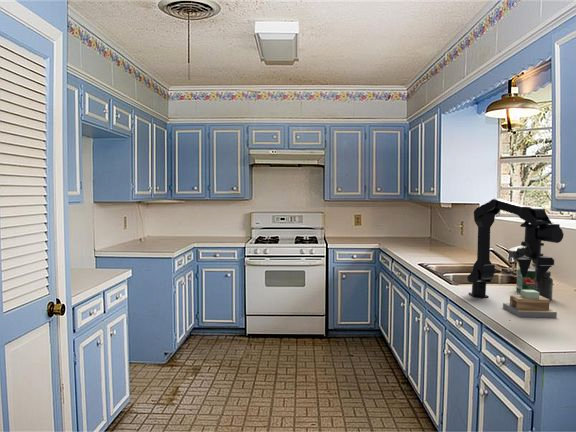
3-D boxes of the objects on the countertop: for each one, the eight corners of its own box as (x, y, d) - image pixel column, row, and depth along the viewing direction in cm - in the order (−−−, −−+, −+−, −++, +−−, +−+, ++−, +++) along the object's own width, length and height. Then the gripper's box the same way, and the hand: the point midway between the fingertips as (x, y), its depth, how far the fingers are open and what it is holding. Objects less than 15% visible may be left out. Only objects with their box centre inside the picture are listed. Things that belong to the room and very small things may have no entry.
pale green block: (520, 295, 167) (520, 289, 167) (532, 296, 167) (533, 289, 167) (526, 298, 163) (526, 292, 163) (539, 298, 163) (539, 292, 163)
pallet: (509, 305, 168) (510, 295, 168) (539, 305, 168) (540, 295, 168) (517, 309, 162) (518, 299, 162) (549, 309, 162) (549, 299, 162)
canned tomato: (521, 289, 204) (522, 266, 203) (538, 293, 198) (539, 269, 197) (512, 291, 199) (514, 268, 199) (530, 295, 193) (531, 271, 192)
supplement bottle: (545, 296, 192) (547, 269, 191) (555, 300, 185) (557, 273, 185) (530, 295, 192) (532, 269, 191) (540, 299, 185) (541, 272, 184)
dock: (502, 307, 171) (503, 302, 171) (537, 308, 171) (537, 303, 171) (519, 316, 159) (519, 311, 159) (556, 317, 160) (556, 312, 159)
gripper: (499, 236, 173) (497, 274, 174) (526, 242, 154) (523, 284, 155) (526, 236, 173) (524, 274, 174) (556, 242, 154) (553, 285, 155)
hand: (530, 279), depth 165 cm, fingers open, 9 cm apart
